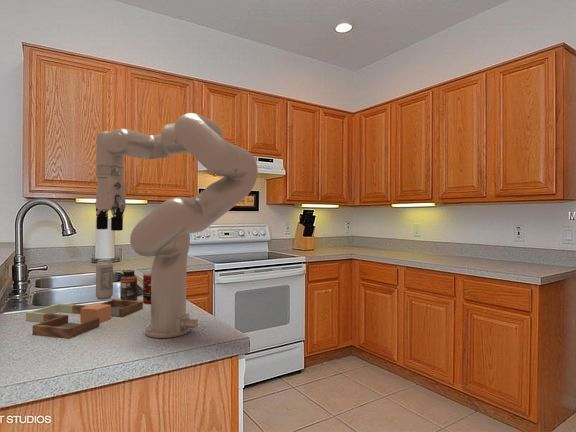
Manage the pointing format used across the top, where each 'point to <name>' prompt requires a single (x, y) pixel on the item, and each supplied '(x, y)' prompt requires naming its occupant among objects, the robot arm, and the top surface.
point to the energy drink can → (104, 279)
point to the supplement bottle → (128, 285)
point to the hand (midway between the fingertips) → (109, 229)
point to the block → (95, 312)
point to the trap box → (61, 328)
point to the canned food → (147, 287)
